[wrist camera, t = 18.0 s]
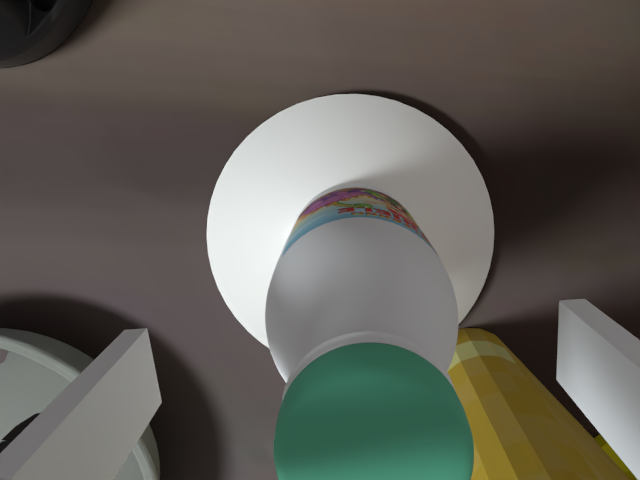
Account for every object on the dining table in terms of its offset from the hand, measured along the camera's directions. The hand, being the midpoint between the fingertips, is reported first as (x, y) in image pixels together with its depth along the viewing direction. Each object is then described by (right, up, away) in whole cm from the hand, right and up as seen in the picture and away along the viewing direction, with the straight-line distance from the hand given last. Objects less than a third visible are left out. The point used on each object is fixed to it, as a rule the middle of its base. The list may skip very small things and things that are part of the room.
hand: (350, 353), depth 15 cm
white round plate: (+1, +4, +16) cm, 16 cm away
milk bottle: (+1, +3, +15) cm, 15 cm away
